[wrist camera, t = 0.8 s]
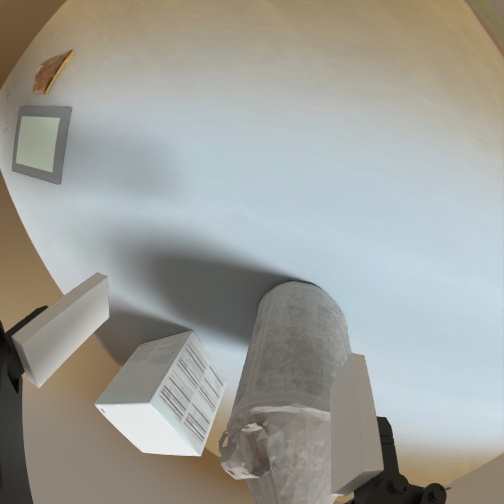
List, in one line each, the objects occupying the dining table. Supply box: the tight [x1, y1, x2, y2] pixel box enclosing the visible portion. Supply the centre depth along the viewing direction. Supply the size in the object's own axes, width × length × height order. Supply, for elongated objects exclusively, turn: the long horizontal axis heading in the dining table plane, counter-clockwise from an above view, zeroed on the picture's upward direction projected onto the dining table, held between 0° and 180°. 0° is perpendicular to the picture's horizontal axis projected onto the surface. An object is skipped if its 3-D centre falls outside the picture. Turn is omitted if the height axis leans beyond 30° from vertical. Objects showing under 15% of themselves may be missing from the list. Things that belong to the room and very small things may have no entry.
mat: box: [12, 107, 72, 185], centre depth 39 cm, size 14×18×1 cm
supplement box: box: [95, 330, 227, 456], centre depth 41 cm, size 13×13×18 cm
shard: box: [33, 49, 74, 94], centre depth 34 cm, size 11×8×2 cm
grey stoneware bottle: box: [219, 281, 351, 504], centre depth 23 cm, size 13×17×40 cm
